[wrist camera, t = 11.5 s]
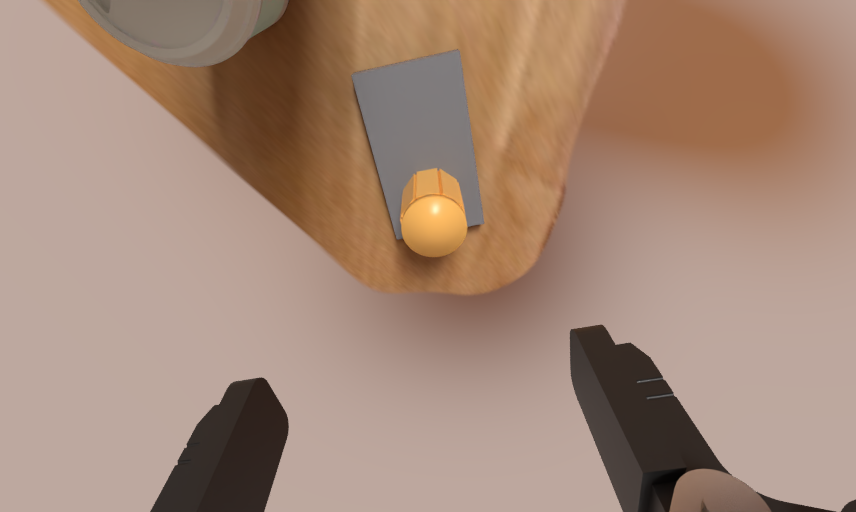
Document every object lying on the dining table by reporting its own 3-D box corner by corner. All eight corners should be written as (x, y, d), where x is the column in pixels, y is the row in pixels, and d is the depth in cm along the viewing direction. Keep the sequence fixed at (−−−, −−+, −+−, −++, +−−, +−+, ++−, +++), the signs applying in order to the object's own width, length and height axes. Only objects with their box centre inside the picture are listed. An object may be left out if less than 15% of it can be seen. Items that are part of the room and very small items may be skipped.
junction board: (354, 72, 31) (343, 82, 26) (458, 49, 30) (464, 55, 26) (397, 231, 38) (394, 260, 34) (482, 216, 37) (490, 243, 33)
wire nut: (398, 175, 33) (394, 205, 28) (455, 164, 33) (462, 192, 28) (410, 226, 36) (409, 262, 31) (464, 216, 35) (471, 251, 30)
